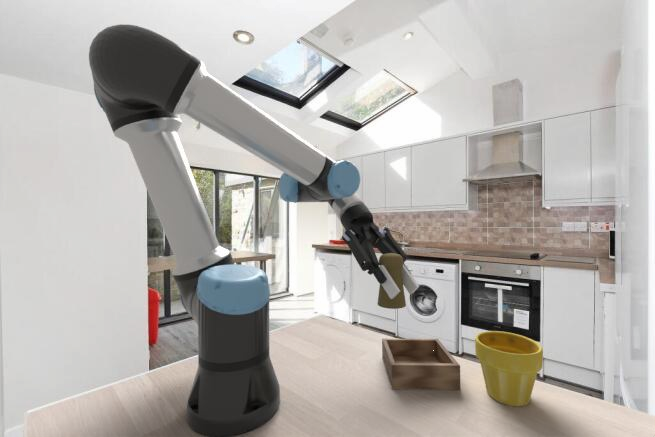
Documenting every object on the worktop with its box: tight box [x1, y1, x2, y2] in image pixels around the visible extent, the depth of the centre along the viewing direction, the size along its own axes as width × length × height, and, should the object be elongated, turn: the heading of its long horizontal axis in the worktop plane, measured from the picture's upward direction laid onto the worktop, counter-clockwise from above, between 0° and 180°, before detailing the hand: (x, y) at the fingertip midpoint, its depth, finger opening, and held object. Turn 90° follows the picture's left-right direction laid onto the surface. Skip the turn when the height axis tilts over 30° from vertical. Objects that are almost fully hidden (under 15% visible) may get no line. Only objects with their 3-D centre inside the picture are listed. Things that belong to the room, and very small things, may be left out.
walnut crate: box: [381, 338, 461, 391], centre depth 62 cm, size 13×13×4 cm
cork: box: [377, 253, 407, 310], centre depth 65 cm, size 6×6×11 cm
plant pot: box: [474, 330, 544, 407], centre depth 54 cm, size 10×10×10 cm
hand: (405, 292), depth 62 cm, fingers closed on cork, 5 cm apart
